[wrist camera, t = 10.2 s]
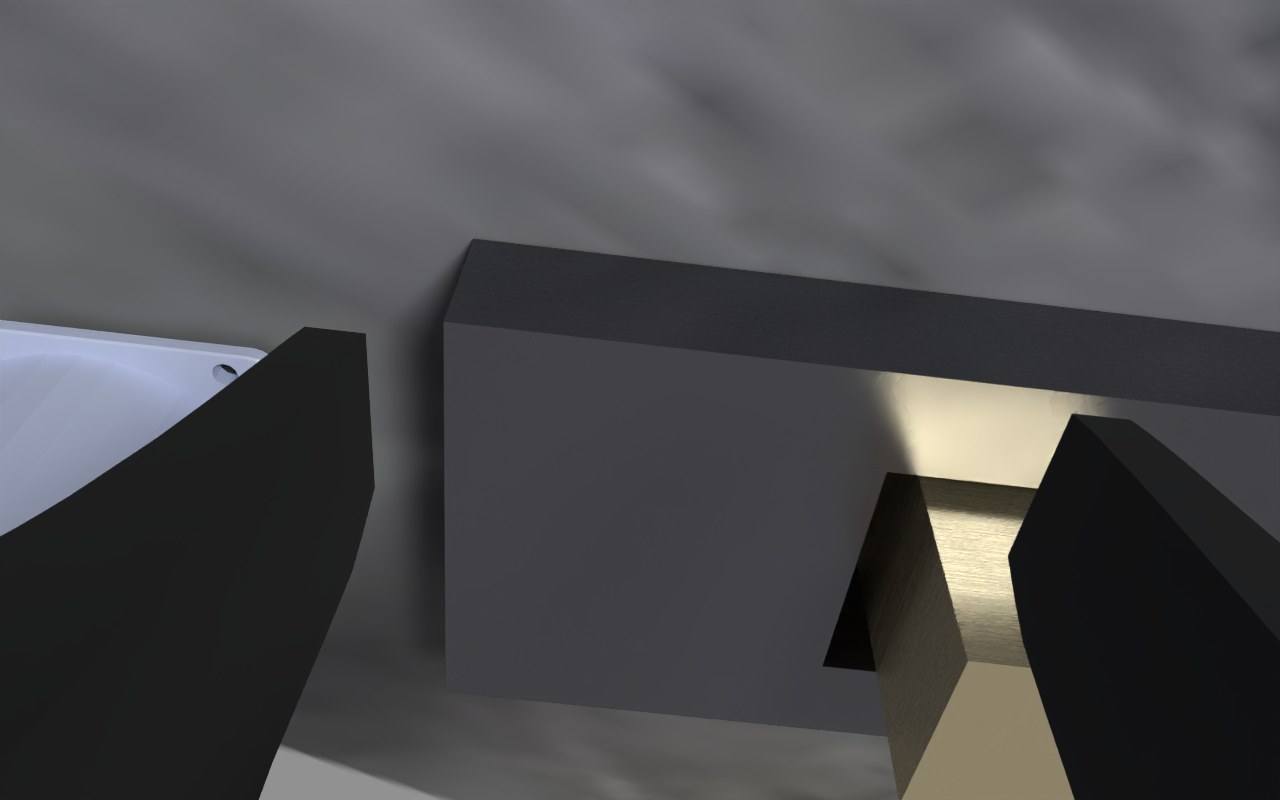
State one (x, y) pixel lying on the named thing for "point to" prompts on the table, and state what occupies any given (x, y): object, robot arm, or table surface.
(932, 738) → the brass peg
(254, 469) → the robot arm
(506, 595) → the dark grey slotted block
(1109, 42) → the table surface
